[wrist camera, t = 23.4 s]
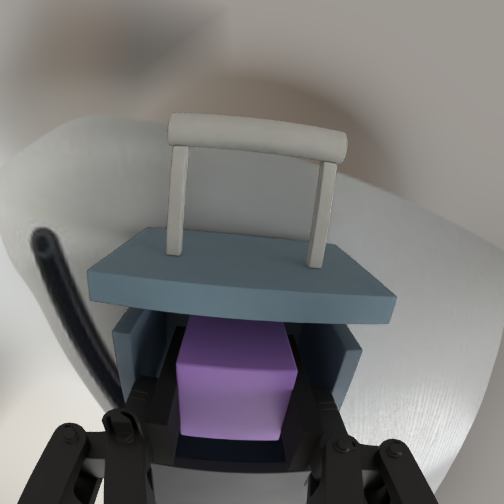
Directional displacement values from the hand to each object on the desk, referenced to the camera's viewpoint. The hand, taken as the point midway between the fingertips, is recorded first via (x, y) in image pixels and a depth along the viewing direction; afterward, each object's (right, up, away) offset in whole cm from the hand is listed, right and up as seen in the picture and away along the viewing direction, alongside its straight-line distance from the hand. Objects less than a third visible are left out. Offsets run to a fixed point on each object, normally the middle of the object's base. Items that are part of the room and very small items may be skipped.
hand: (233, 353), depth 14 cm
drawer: (0, +3, +3) cm, 4 cm away
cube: (0, 0, 0) cm, 0 cm away
